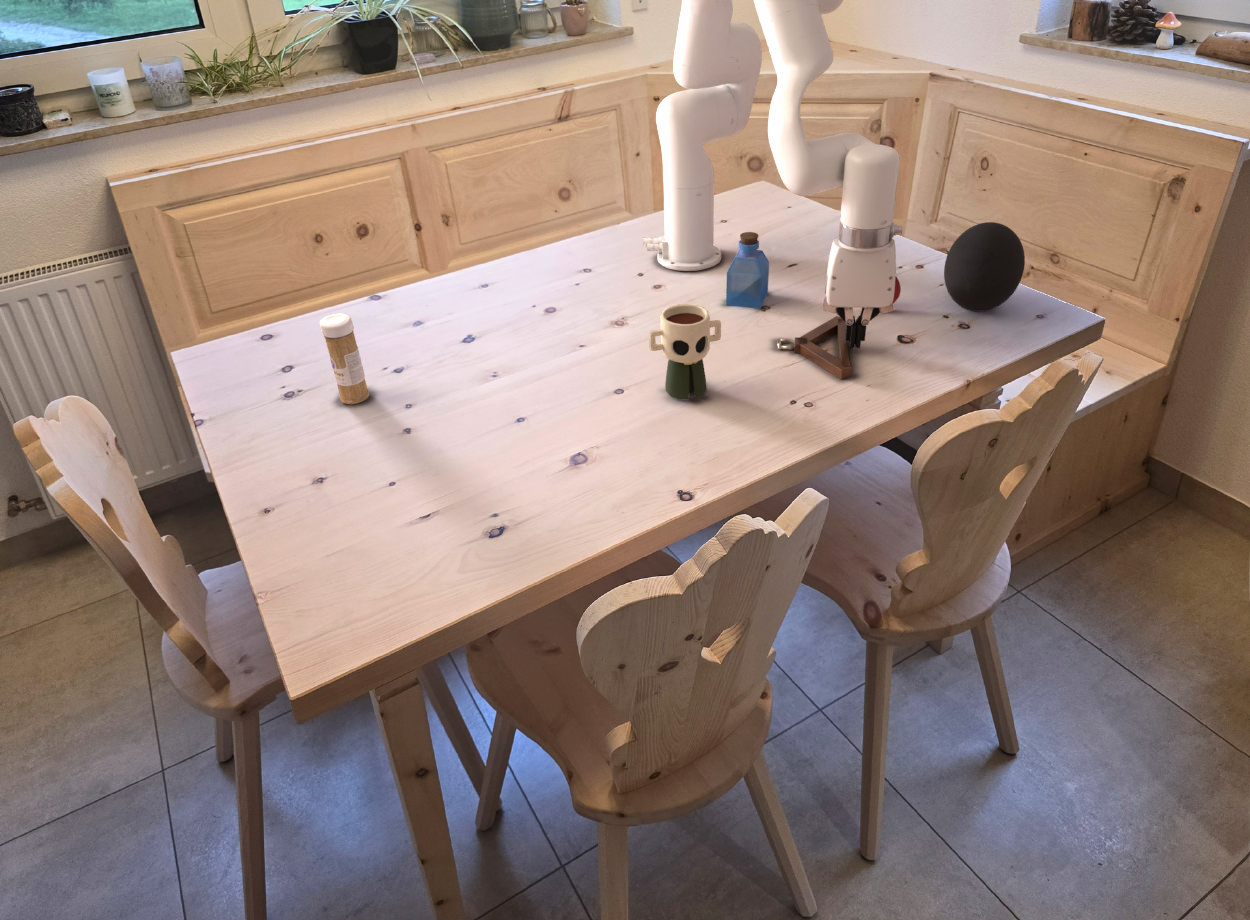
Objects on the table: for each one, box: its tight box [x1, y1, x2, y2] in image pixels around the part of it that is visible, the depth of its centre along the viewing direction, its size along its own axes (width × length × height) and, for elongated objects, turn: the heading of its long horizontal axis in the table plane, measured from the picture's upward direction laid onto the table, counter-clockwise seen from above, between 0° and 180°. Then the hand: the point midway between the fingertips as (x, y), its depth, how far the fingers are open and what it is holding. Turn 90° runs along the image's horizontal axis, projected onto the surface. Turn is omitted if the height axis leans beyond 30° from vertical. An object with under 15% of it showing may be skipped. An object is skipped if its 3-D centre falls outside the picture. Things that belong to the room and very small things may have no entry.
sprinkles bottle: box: [319, 313, 370, 405], centre depth 134 cm, size 5×5×13 cm
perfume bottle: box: [725, 231, 770, 309], centre depth 157 cm, size 6×6×12 cm
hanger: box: [777, 315, 853, 380], centre depth 143 cm, size 11×18×2 cm, turn 171°
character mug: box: [648, 303, 722, 401], centre depth 131 cm, size 11×7×13 cm, turn 104°
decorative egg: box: [943, 221, 1026, 312], centre depth 149 cm, size 12×12×15 cm
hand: (854, 344), depth 142 cm, fingers closed
